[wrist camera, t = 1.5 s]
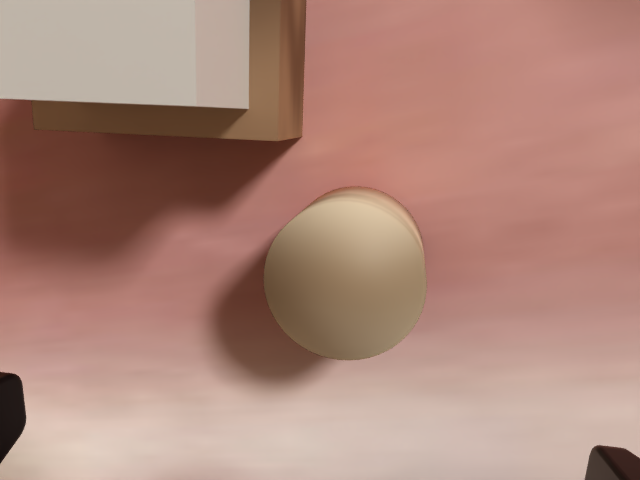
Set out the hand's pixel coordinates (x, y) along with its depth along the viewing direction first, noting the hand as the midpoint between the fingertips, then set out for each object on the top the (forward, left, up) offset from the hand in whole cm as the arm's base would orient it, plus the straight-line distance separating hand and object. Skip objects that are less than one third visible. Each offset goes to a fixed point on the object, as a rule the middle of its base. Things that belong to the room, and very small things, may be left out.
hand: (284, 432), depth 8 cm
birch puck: (0, 0, -12) cm, 12 cm away
